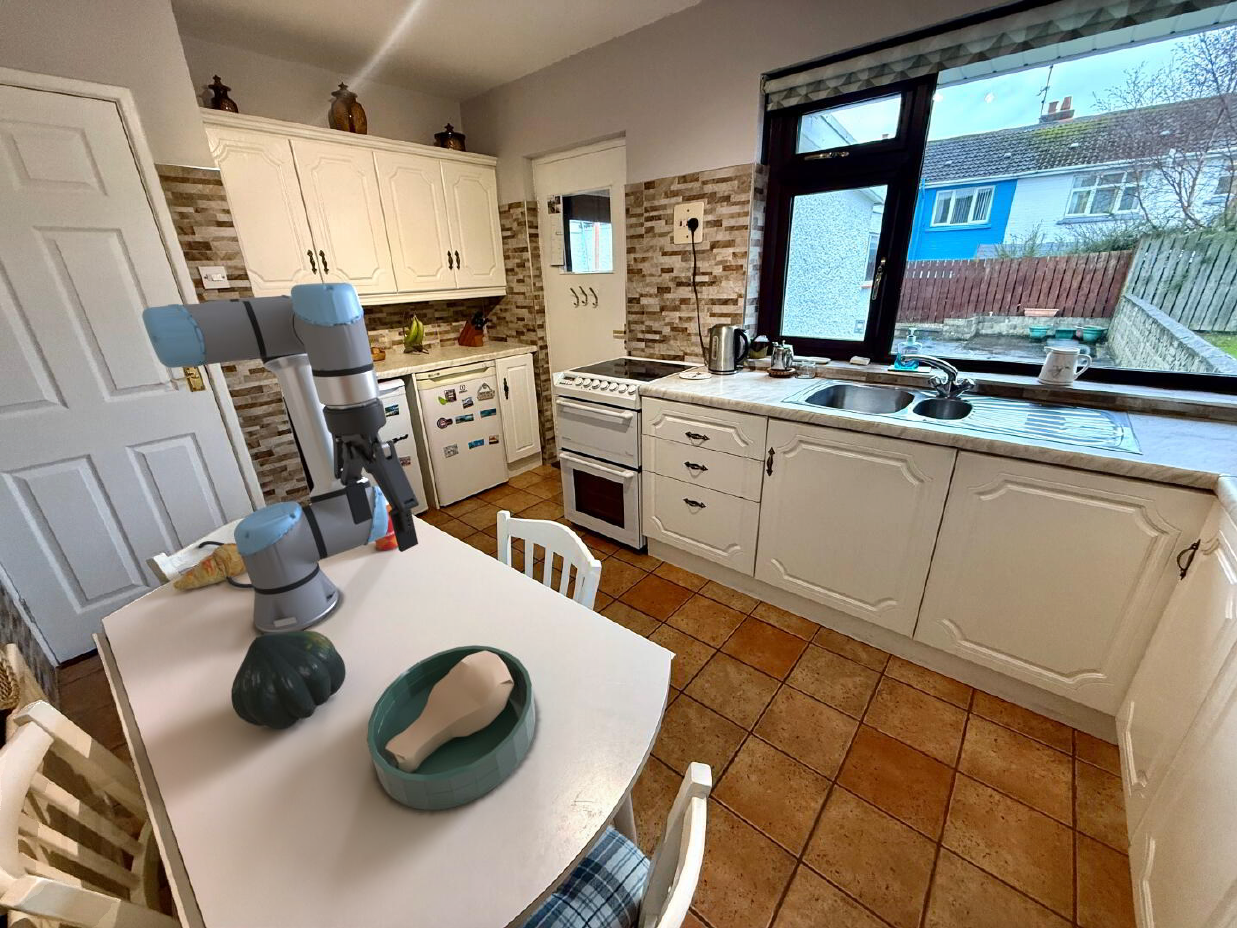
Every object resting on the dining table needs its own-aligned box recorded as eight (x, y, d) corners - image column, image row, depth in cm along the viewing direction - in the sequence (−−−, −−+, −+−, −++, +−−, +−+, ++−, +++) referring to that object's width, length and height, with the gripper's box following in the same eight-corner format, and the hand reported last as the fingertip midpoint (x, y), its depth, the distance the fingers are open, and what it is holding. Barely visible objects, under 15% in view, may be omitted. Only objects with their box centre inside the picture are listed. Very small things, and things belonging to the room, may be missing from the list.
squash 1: (359, 686, 77) (318, 603, 79) (249, 753, 68) (205, 656, 70) (353, 690, 88) (317, 617, 90) (257, 748, 79) (219, 665, 80)
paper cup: (366, 551, 123) (352, 502, 118) (384, 535, 130) (372, 489, 125) (394, 553, 122) (382, 504, 117) (411, 537, 129) (400, 490, 124)
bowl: (347, 745, 74) (336, 717, 71) (474, 651, 91) (469, 626, 88) (436, 849, 60) (427, 819, 58) (566, 716, 77) (563, 689, 75)
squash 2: (530, 700, 80) (526, 669, 75) (421, 806, 67) (406, 777, 62) (490, 660, 85) (482, 629, 80) (381, 751, 73) (365, 721, 68)
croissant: (187, 610, 109) (181, 590, 104) (164, 581, 112) (157, 560, 107) (286, 561, 125) (285, 542, 120) (264, 537, 128) (262, 517, 123)
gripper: (427, 409, 63) (453, 547, 71) (338, 384, 77) (368, 502, 85) (370, 424, 57) (406, 572, 66) (286, 395, 72) (324, 520, 80)
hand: (385, 533), depth 76 cm, fingers open, 13 cm apart
